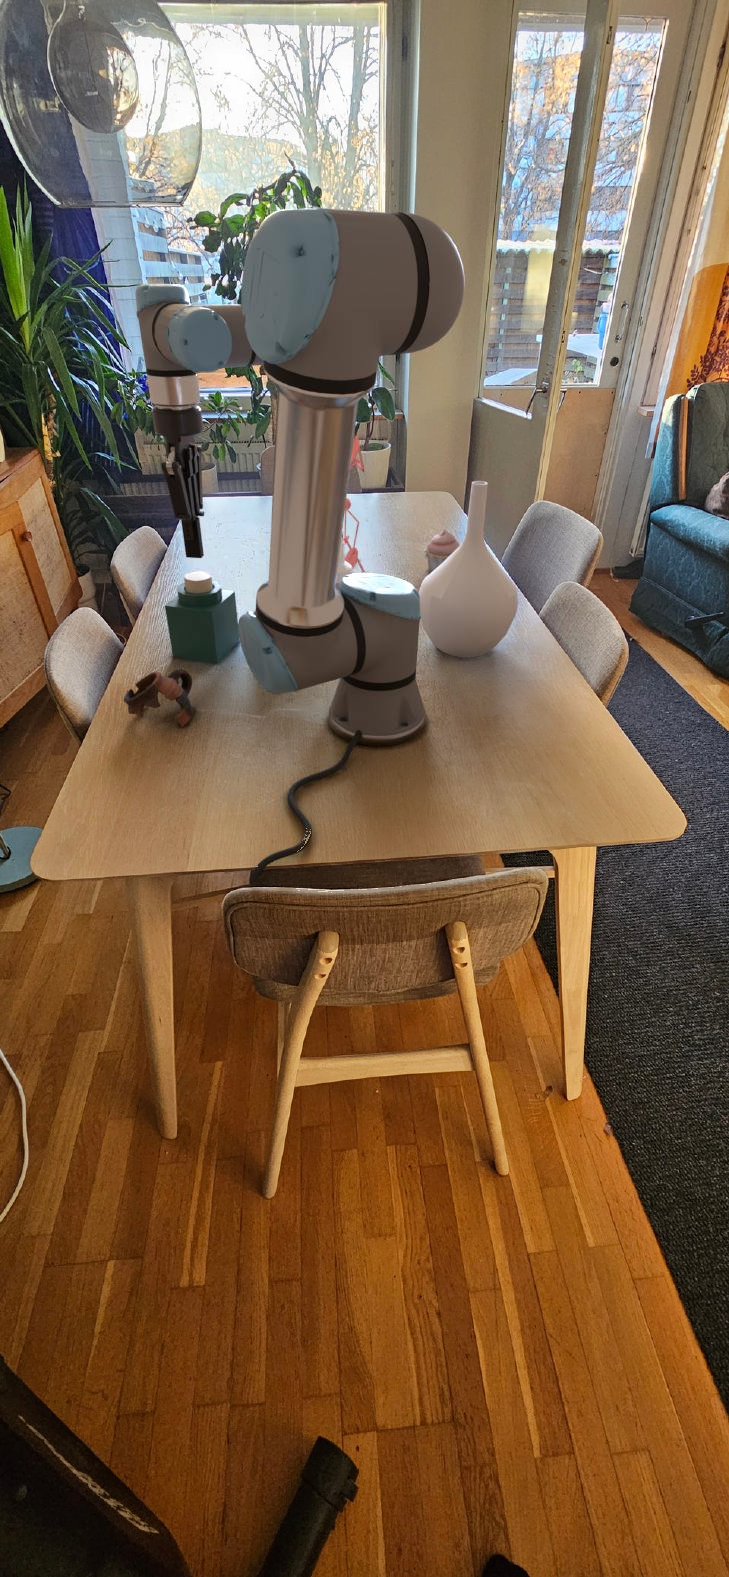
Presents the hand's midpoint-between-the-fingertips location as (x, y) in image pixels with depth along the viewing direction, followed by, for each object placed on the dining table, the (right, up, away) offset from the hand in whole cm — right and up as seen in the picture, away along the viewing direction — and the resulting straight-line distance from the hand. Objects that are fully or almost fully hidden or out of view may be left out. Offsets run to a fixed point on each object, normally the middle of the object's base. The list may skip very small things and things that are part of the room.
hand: (194, 556), depth 125 cm
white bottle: (+24, -6, +22) cm, 33 cm away
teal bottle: (0, -14, +10) cm, 18 cm away
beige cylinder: (0, -5, +3) cm, 6 cm away
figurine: (+22, +12, +46) cm, 53 cm away
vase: (+49, -13, +13) cm, 52 cm away
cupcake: (+48, +11, +45) cm, 67 cm away
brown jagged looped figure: (-2, -29, -9) cm, 30 cm away
